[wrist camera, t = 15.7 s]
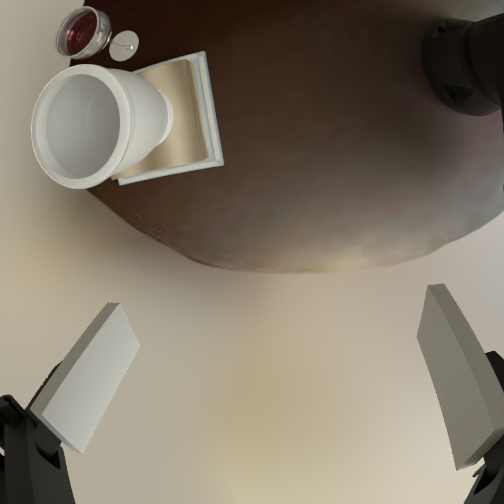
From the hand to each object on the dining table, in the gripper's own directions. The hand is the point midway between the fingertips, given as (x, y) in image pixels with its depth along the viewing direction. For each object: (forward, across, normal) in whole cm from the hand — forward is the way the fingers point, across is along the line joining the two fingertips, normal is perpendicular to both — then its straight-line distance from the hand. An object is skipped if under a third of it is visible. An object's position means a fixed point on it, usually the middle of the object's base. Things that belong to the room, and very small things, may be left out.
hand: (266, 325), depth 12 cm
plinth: (+30, -16, +10) cm, 35 cm away
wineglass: (+30, -20, +23) cm, 43 cm away
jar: (+25, -16, +10) cm, 31 cm away
